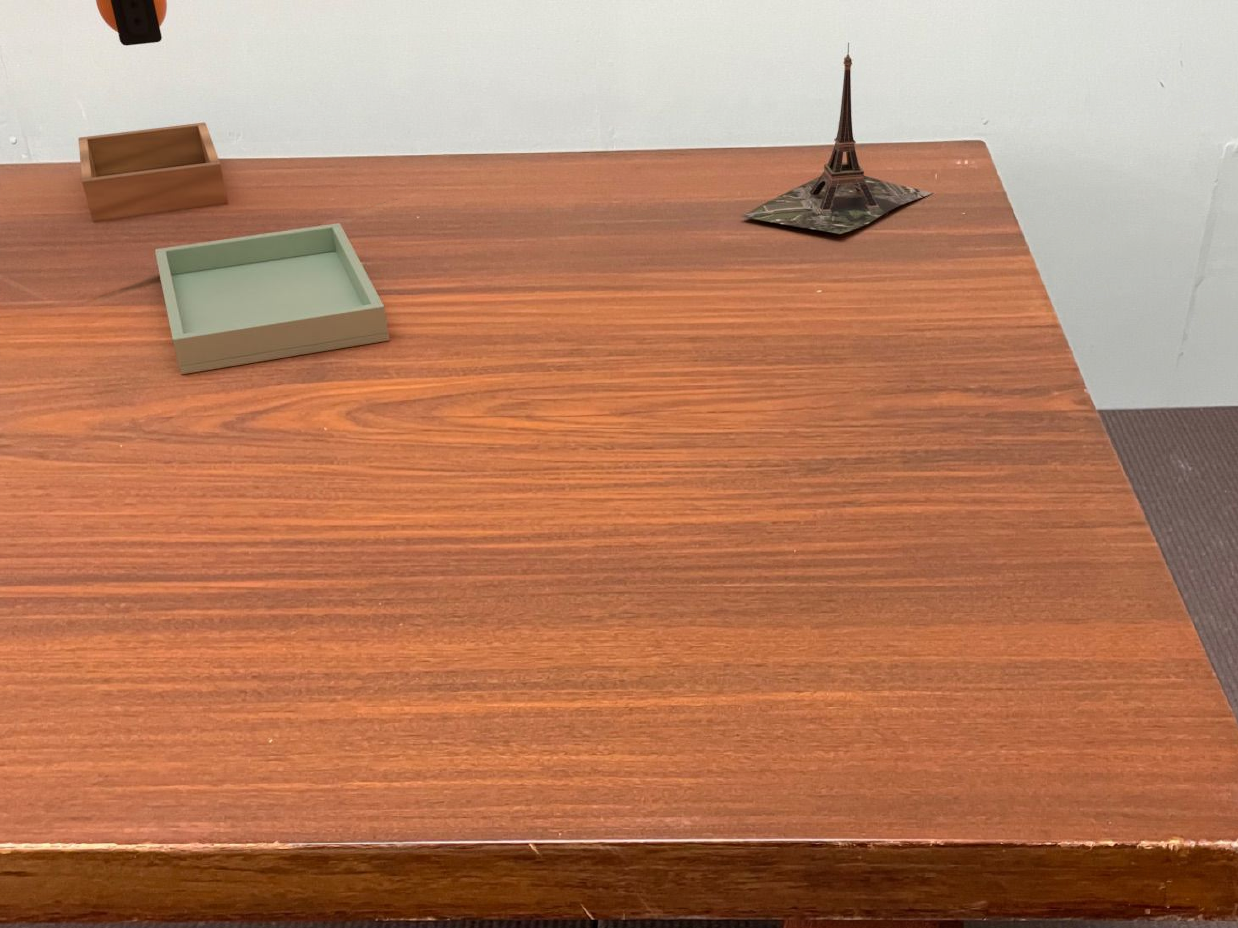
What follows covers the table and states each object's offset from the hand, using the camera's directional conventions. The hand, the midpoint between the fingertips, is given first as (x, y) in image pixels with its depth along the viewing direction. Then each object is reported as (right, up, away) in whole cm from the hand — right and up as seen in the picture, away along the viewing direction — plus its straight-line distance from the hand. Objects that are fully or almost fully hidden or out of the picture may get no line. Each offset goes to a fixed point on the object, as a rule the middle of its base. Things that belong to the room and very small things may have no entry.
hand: (138, 32), depth 119 cm
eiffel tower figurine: (+58, -12, +6) cm, 60 cm away
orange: (0, 0, 0) cm, 0 cm away
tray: (+13, -25, -9) cm, 30 cm away
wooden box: (-4, -8, +15) cm, 18 cm away
